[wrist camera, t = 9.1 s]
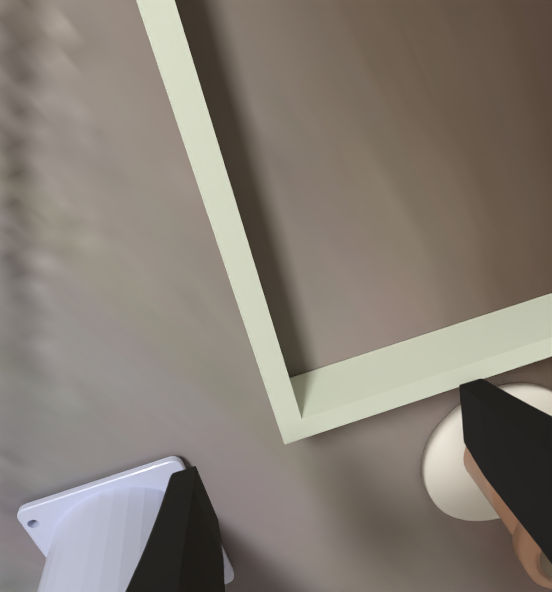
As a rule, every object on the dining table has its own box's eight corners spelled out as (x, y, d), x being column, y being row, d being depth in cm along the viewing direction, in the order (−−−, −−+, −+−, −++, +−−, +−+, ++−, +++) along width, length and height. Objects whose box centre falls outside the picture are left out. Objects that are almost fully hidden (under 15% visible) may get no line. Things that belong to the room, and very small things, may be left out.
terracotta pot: (558, 468, 28) (648, 564, 22) (461, 501, 28) (529, 606, 22) (557, 387, 25) (659, 474, 20) (451, 423, 25) (524, 521, 20)
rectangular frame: (731, 252, 25) (798, 274, 22) (272, 401, 24) (284, 444, 21) (865, -510, 14) (1026, -647, 11) (40, -302, 13) (3, -399, 10)
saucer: (570, 480, 30) (580, 490, 29) (430, 528, 29) (436, 540, 29) (572, 360, 26) (584, 369, 25) (410, 414, 25) (417, 424, 25)
